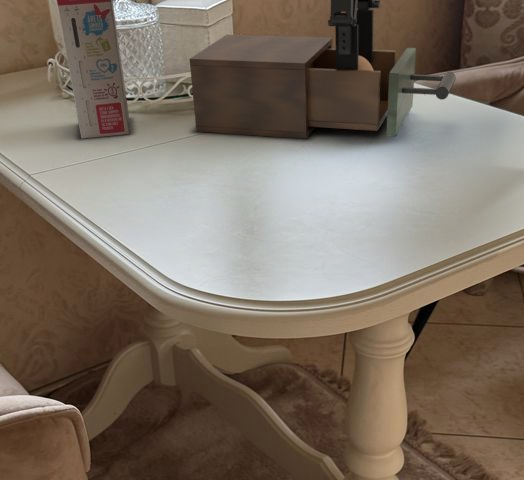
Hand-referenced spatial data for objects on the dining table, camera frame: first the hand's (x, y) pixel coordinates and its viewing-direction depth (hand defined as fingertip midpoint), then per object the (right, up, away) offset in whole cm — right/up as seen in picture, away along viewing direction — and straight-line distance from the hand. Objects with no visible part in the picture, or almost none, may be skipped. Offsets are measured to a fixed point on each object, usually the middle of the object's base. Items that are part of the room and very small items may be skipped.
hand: (354, 70), depth 103 cm
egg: (0, -4, +3) cm, 5 cm away
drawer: (+3, -6, +3) cm, 7 cm away
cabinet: (-12, -4, +8) cm, 14 cm away
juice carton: (-34, -6, +8) cm, 35 cm away
